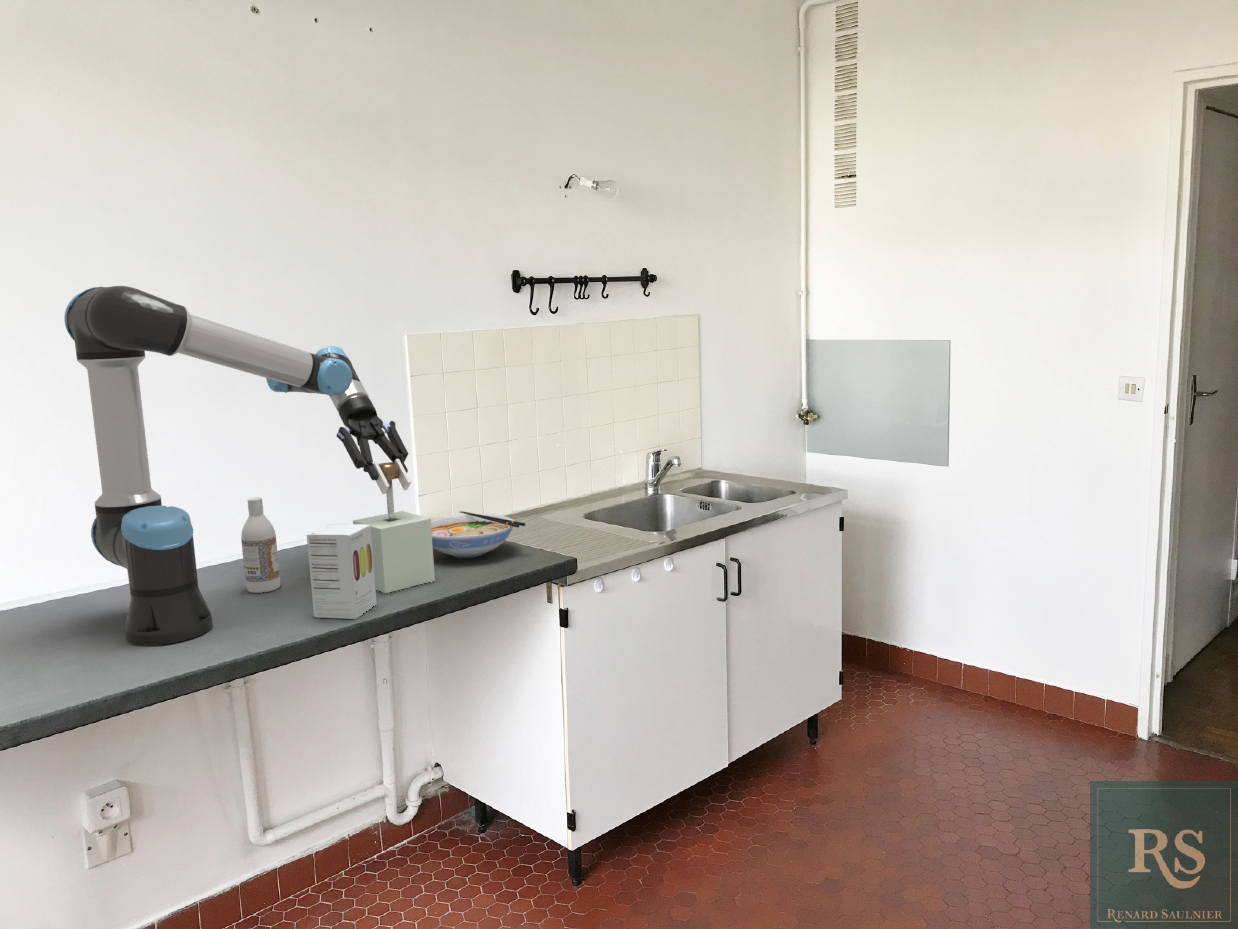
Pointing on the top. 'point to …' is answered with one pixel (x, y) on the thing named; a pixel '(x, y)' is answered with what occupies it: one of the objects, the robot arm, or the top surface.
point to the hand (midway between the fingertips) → (396, 488)
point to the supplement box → (341, 570)
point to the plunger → (390, 485)
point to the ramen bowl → (470, 533)
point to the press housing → (401, 550)
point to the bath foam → (259, 550)
